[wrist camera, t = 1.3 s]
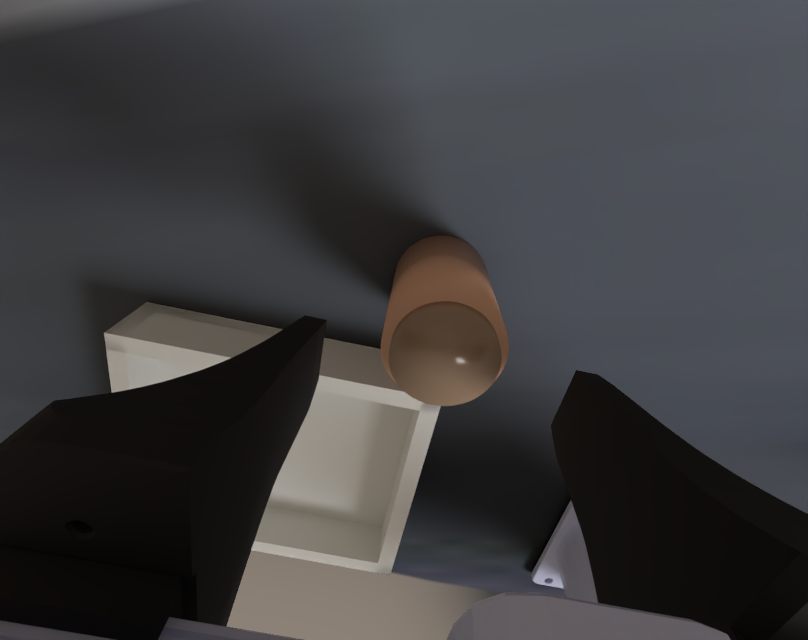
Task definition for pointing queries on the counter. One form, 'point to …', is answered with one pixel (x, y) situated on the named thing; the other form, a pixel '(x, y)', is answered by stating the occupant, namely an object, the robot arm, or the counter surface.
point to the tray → (304, 435)
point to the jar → (443, 324)
